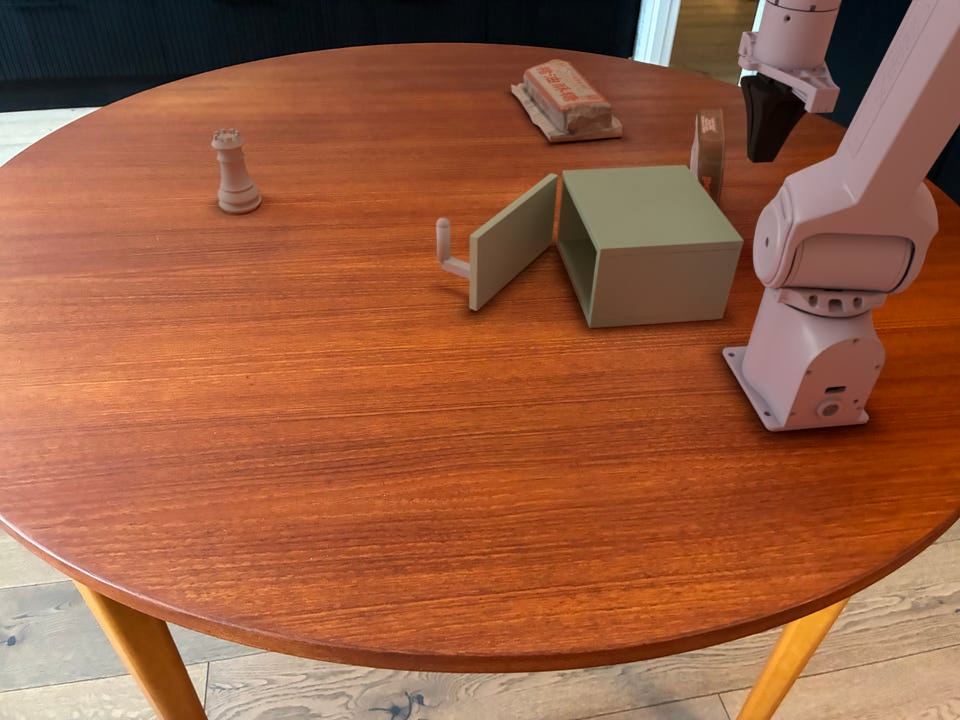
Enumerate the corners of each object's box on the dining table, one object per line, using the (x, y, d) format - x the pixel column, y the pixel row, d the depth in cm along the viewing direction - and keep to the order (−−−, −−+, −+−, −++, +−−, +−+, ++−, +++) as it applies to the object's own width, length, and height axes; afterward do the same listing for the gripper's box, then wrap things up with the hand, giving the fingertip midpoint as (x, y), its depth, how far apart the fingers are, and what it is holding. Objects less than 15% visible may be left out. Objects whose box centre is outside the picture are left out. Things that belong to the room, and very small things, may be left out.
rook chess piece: (210, 208, 81) (193, 136, 75) (239, 191, 84) (224, 121, 78) (242, 219, 79) (227, 146, 74) (271, 201, 82) (258, 129, 77)
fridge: (589, 328, 65) (600, 248, 60) (555, 244, 76) (562, 170, 71) (722, 319, 67) (744, 240, 62) (671, 237, 77) (685, 164, 72)
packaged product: (629, 101, 93) (552, 107, 91) (624, 138, 96) (549, 145, 94) (579, 53, 106) (511, 57, 104) (576, 87, 109) (509, 92, 107)
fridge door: (426, 291, 69) (424, 219, 64) (506, 228, 78) (508, 160, 73) (476, 311, 67) (477, 238, 62) (552, 243, 76) (558, 175, 71)
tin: (715, 230, 79) (733, 154, 73) (684, 227, 79) (700, 150, 74) (710, 167, 90) (726, 97, 85) (683, 164, 90) (697, 94, 85)
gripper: (721, -20, 67) (691, 129, 75) (795, 30, 56) (750, 198, 64) (797, -22, 67) (759, 126, 76) (885, 28, 56) (829, 194, 65)
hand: (760, 159), depth 70 cm, fingers closed
